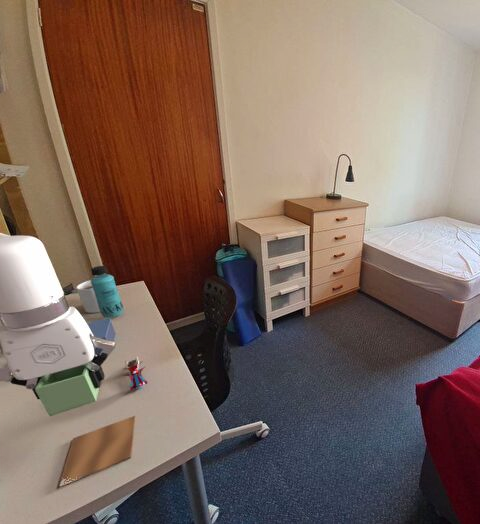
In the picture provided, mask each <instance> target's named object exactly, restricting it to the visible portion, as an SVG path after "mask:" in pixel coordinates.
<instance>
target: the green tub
mask: <svg viewBox="0 0 480 524" xmlns="http://www.w3.org/2000/svg"><path fill="white" fill-rule="evenodd" d="M89 371H90V369H88V368H87V367H85V366H84V365H81V366H78V367H74V368H71V369H67V370H63V371H60V372H56V373H52V374H49V375H45V376H42V377H41V379H40V381H39V382H38V384H37V386H36V388H35V391H36V392H37V394H38V396H39V398H40V399H39V400H40V402H41V403H42V406H44V409H45V410H46V413H47V414H48V416H49V417H53V416H55V415H58V414H59V415H60V414H61V413H65V412H68V411H71V410H73V409H74V410H75V409H77V408H80V407H83V406H86V405H89V404H92V403H95V402H97V400H98V395H99V391H100V388H97V389H96V388H94V385H93V383H92V381H91V378H90V376H89Z"/></svg>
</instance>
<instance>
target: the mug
mask: <svg viewBox="0 0 480 524" xmlns="http://www.w3.org/2000/svg"><path fill="white" fill-rule="evenodd" d="M91 280H92V279H90V280H86V281H84V282H81V283H79V284H78V285H77V286H76V291H77V294H78V296H79V299H80V302H81V304H82V306H83V309H84V312H86V313H88V314H89V313H90V314H95V313H96V314H97V313H101V312H100V309H99V306H98V304H97V303H98V302H97V299H96V297H95V293H94V290H93V287H92V284H91V282H90V281H91Z"/></svg>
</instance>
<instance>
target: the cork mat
mask: <svg viewBox="0 0 480 524" xmlns="http://www.w3.org/2000/svg"><path fill="white" fill-rule="evenodd" d="M135 422H136V415H133V416H130V417H128V418H125V419H122V420H119V421H117V422H114V423H111V424H109V425H106V426H103V427H99V428H97V429H94V430H92V431H89V432H87V433H84V434H80V435H78V436H75V437H73V438H72V441H71V444H70V447H69V451H68V453H67V458H66V461H65V464H64V467H63V471H62V474H61V477H60V481H62V480H63V479H66V480H68V479H69V478H71V479H69V481H74V480H72V479H75V480H76V479H79V478H81V477H84V478H86V477H85V476H87V475H89V476H91V475H90V474H92V475H94V474H96V473H98V472H102V471H103V470H106V469H108V468H110V467H113V466H115V465H117V464H120V463H123V462H125V461H128V460H130V459H132V453H133V443H134V435H135V434H134V433H135ZM93 473H94V474H93ZM67 477H68V478H67ZM76 477H77V478H76ZM87 477H88V476H87ZM61 478H63V479H61ZM66 480H65V481H66ZM65 481H64V482H65ZM69 481H66V482H69ZM64 484H65V483H64Z"/></svg>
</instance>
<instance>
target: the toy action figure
mask: <svg viewBox="0 0 480 524" xmlns="http://www.w3.org/2000/svg"><path fill="white" fill-rule="evenodd" d="M142 362H144V361H143V360H142V361H140V360H139V357H138V356H135V359H132V360H129V361H128V360H125V361H124V364H125V368H124V370H127V371H129V372H130V373H127V374H123V375H122V376H123V377H129V378H130V379H129V380H130V385H129V391H130V392H131V391H133V390H135V389H136V390H140V389H142V388H143V387H144V385H148V380H147V379H145V378H144V376H143V375H142V371H143V370H144V369H145V368H146V366H144V367H142V368H140V367H139V366H140V365H141V364H142Z"/></svg>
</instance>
